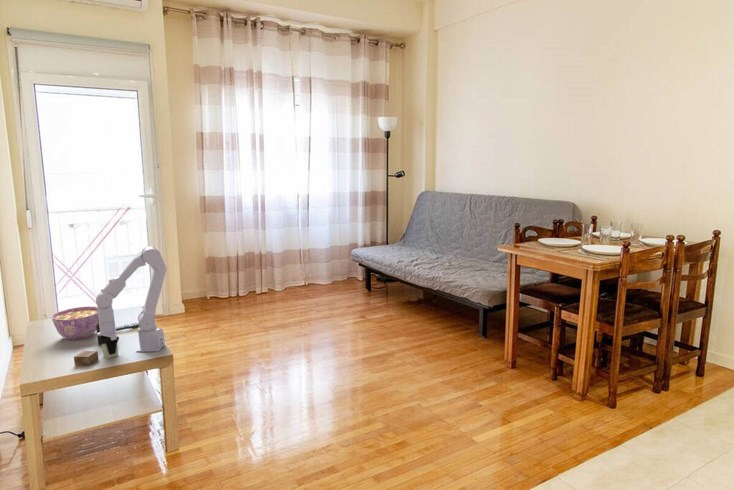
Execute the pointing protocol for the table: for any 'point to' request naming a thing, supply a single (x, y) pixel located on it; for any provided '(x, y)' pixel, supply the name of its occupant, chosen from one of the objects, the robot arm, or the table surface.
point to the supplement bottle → (98, 332)
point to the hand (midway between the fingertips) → (110, 352)
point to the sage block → (106, 353)
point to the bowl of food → (76, 322)
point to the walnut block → (86, 358)
